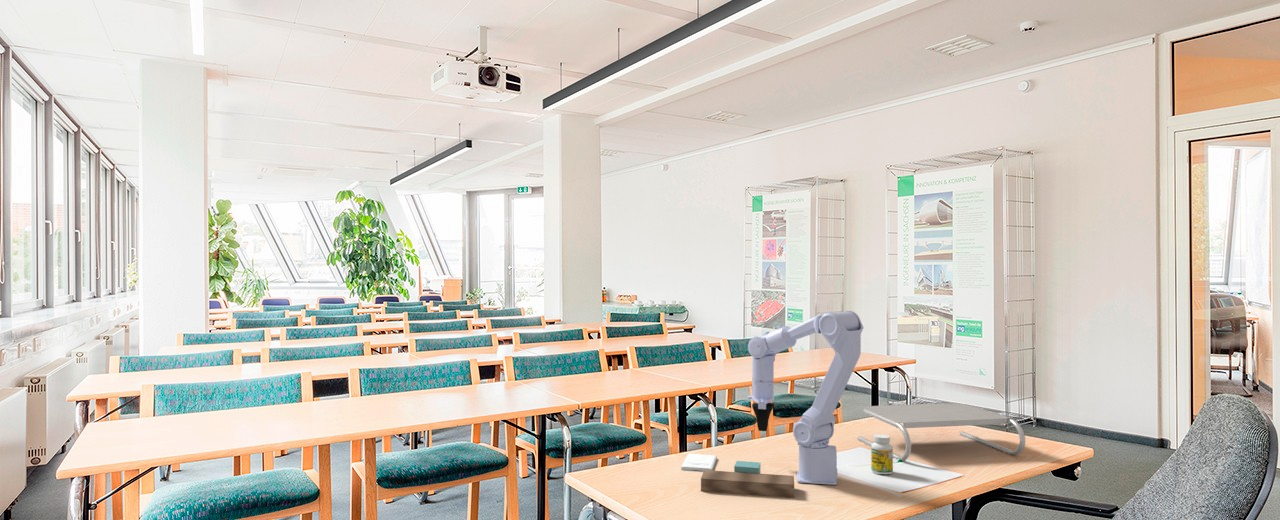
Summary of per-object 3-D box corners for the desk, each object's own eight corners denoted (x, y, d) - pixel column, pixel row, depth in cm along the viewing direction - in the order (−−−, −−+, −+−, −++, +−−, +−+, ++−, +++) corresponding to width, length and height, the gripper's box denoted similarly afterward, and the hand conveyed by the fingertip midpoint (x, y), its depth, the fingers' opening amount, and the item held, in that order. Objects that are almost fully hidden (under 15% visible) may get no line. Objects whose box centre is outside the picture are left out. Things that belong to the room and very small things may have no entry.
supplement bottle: (896, 472, 186) (896, 436, 186) (886, 477, 182) (887, 439, 182) (877, 468, 190) (877, 432, 190) (867, 472, 186) (867, 436, 186)
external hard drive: (716, 461, 198) (711, 474, 186) (687, 459, 199) (680, 472, 187) (716, 455, 198) (711, 468, 186) (687, 453, 199) (680, 466, 187)
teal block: (760, 480, 179) (760, 462, 179) (758, 486, 174) (758, 468, 174) (736, 478, 181) (736, 460, 181) (734, 484, 176) (734, 466, 176)
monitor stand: (963, 435, 227) (963, 402, 227) (1026, 460, 199) (1026, 422, 199) (856, 440, 220) (857, 406, 220) (907, 467, 192) (907, 427, 192)
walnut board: (793, 488, 173) (793, 475, 173) (794, 497, 166) (794, 484, 166) (703, 482, 177) (704, 470, 177) (700, 490, 170) (700, 478, 170)
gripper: (749, 375, 200) (748, 423, 200) (746, 384, 186) (746, 436, 186) (774, 376, 198) (774, 424, 198) (774, 385, 184) (773, 437, 184)
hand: (762, 430), depth 192 cm, fingers closed
